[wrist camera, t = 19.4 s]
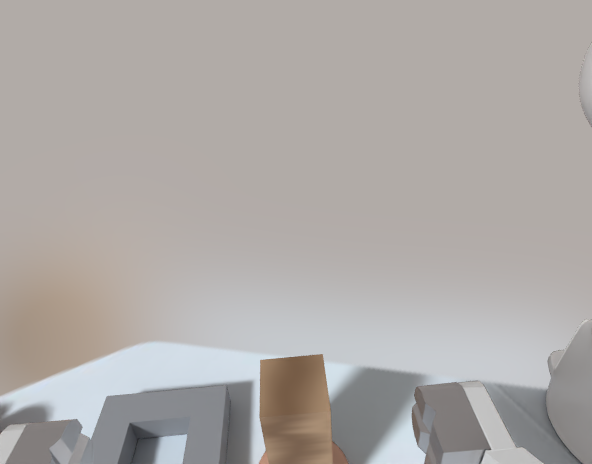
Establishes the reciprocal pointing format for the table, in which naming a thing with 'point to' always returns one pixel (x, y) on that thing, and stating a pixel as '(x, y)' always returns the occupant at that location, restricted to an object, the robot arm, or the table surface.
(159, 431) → the pocket holder
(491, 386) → the table surface
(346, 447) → the table surface
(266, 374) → the walnut block
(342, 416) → the table surface
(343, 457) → the terracotta coaster
